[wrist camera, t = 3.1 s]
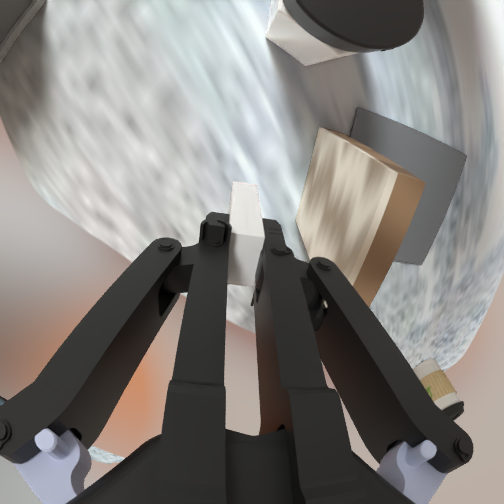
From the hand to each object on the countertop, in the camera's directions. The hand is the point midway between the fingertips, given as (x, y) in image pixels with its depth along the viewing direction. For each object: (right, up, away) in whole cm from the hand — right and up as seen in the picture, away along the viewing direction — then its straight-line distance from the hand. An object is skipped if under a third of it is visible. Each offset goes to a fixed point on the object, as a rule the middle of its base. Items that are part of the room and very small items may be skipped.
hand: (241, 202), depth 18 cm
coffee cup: (+39, -29, +32) cm, 58 cm away
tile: (+7, +4, +9) cm, 12 cm away
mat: (+17, +3, +10) cm, 20 cm away
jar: (+6, +17, +1) cm, 18 cm away
